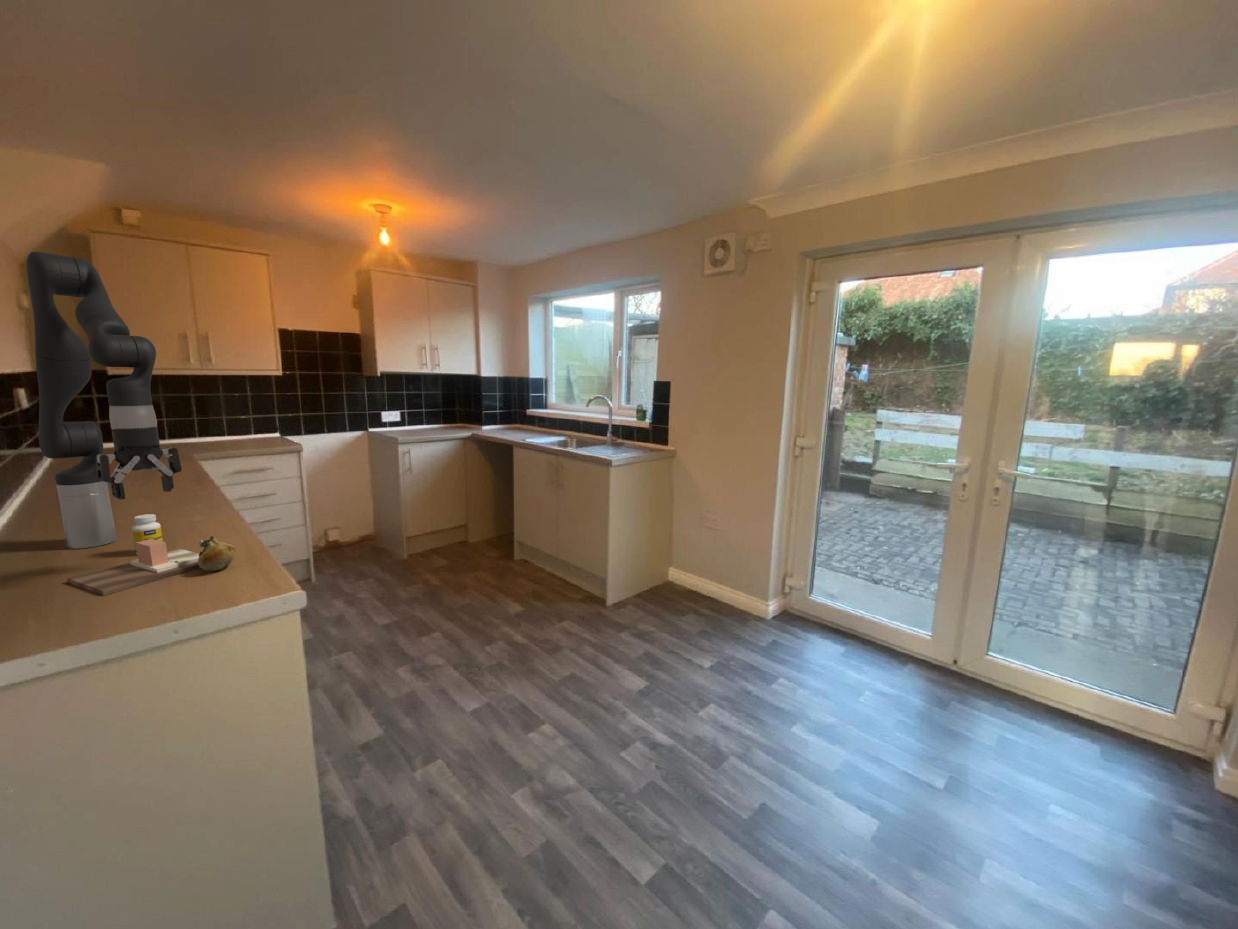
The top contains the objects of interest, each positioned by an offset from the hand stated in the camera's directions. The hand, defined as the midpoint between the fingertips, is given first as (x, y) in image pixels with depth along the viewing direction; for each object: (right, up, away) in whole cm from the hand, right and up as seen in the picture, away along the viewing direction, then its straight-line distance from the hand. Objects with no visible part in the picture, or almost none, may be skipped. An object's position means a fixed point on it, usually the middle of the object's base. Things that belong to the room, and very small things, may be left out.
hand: (144, 495), depth 114 cm
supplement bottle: (-13, -16, +15) cm, 25 cm away
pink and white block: (0, -17, +3) cm, 17 cm away
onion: (+14, -18, +4) cm, 23 cm away
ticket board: (-1, -18, +1) cm, 18 cm away
